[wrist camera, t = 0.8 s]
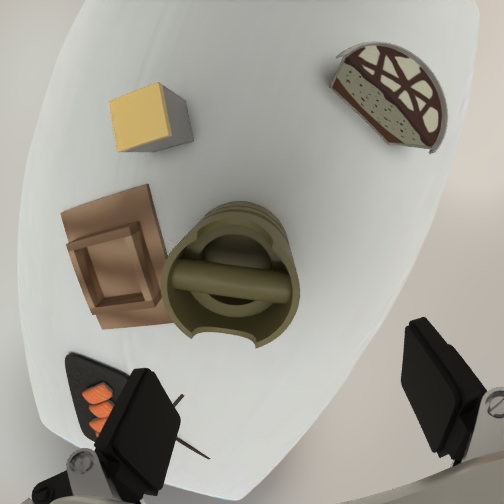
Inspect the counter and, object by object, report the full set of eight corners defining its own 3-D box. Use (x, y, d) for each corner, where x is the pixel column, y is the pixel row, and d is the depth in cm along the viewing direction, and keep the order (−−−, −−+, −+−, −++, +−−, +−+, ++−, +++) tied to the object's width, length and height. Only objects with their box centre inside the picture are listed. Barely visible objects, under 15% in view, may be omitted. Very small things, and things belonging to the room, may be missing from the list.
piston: (285, 358, 25) (161, 340, 25) (280, 298, 36) (190, 285, 36) (312, 236, 21) (162, 216, 21) (295, 208, 33) (197, 196, 33)
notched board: (63, 211, 34) (47, 217, 30) (148, 183, 32) (135, 187, 29) (104, 326, 39) (93, 340, 36) (187, 318, 38) (180, 333, 34)
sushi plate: (67, 344, 42) (56, 356, 38) (230, 398, 43) (227, 414, 39) (86, 431, 51) (80, 442, 47) (206, 471, 52) (203, 484, 48)
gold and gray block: (145, 113, 30) (108, 101, 21) (185, 100, 29) (158, 82, 21) (153, 152, 31) (117, 152, 23) (193, 140, 31) (168, 135, 22)
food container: (423, 120, 28) (471, 113, 19) (395, 153, 30) (440, 154, 20) (350, 48, 26) (379, 14, 17) (319, 79, 28) (340, 49, 18)
